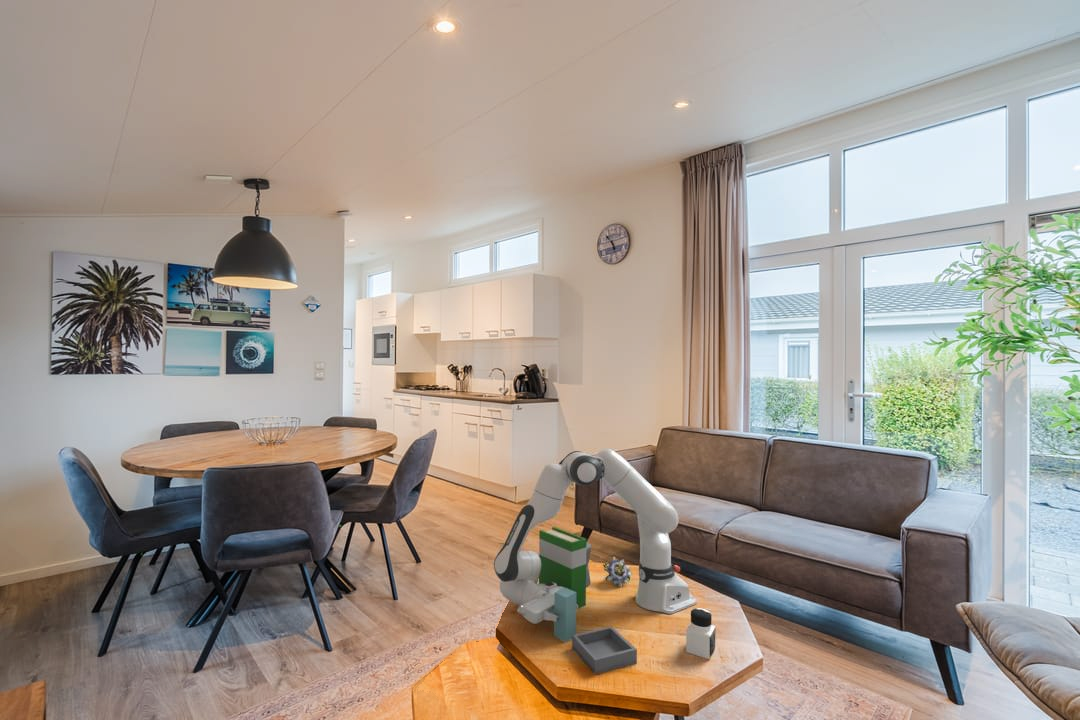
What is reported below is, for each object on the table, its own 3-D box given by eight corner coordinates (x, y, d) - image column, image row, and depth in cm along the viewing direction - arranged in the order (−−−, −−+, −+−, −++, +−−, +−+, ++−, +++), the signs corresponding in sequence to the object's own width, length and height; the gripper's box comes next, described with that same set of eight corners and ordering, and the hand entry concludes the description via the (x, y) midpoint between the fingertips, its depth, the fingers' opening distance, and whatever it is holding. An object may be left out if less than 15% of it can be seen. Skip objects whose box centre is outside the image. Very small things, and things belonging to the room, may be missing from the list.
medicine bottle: (710, 660, 145) (710, 619, 146) (685, 652, 149) (686, 612, 149) (715, 648, 151) (715, 609, 152) (692, 641, 155) (692, 603, 155)
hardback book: (538, 594, 187) (539, 530, 187) (553, 588, 192) (553, 526, 192) (571, 611, 174) (571, 543, 174) (585, 605, 178) (586, 538, 179)
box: (611, 638, 156) (611, 626, 156) (636, 663, 143) (636, 649, 144) (572, 648, 151) (572, 635, 151) (595, 674, 138) (595, 660, 138)
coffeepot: (596, 588, 192) (597, 542, 192) (574, 591, 189) (574, 544, 190) (582, 573, 207) (583, 530, 207) (561, 575, 204) (562, 531, 204)
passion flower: (619, 600, 194) (608, 580, 189) (604, 584, 204) (593, 565, 199) (640, 581, 197) (629, 561, 193) (624, 566, 207) (614, 547, 202)
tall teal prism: (564, 630, 161) (564, 587, 161) (576, 636, 158) (576, 592, 158) (554, 636, 158) (554, 592, 158) (565, 642, 154) (566, 597, 154)
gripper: (514, 599, 159) (544, 614, 150) (556, 580, 174) (587, 593, 164) (514, 619, 159) (544, 635, 150) (556, 598, 174) (587, 612, 164)
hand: (567, 613), depth 157 cm, fingers open, 8 cm apart
